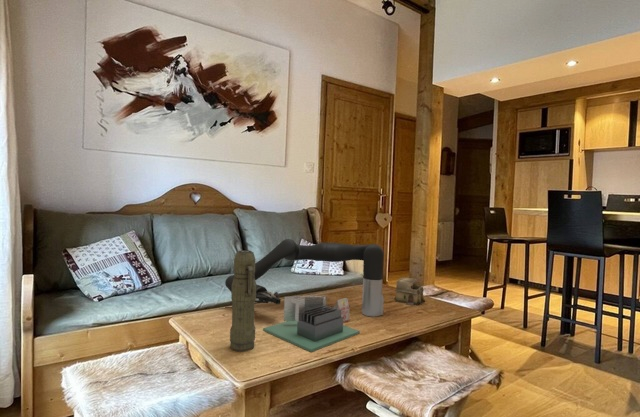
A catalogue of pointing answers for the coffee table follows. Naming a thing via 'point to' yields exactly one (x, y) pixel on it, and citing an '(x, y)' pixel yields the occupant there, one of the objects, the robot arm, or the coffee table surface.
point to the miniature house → (409, 292)
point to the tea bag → (343, 308)
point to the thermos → (243, 302)
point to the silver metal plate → (309, 304)
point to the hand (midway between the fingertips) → (279, 301)
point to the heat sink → (312, 327)
